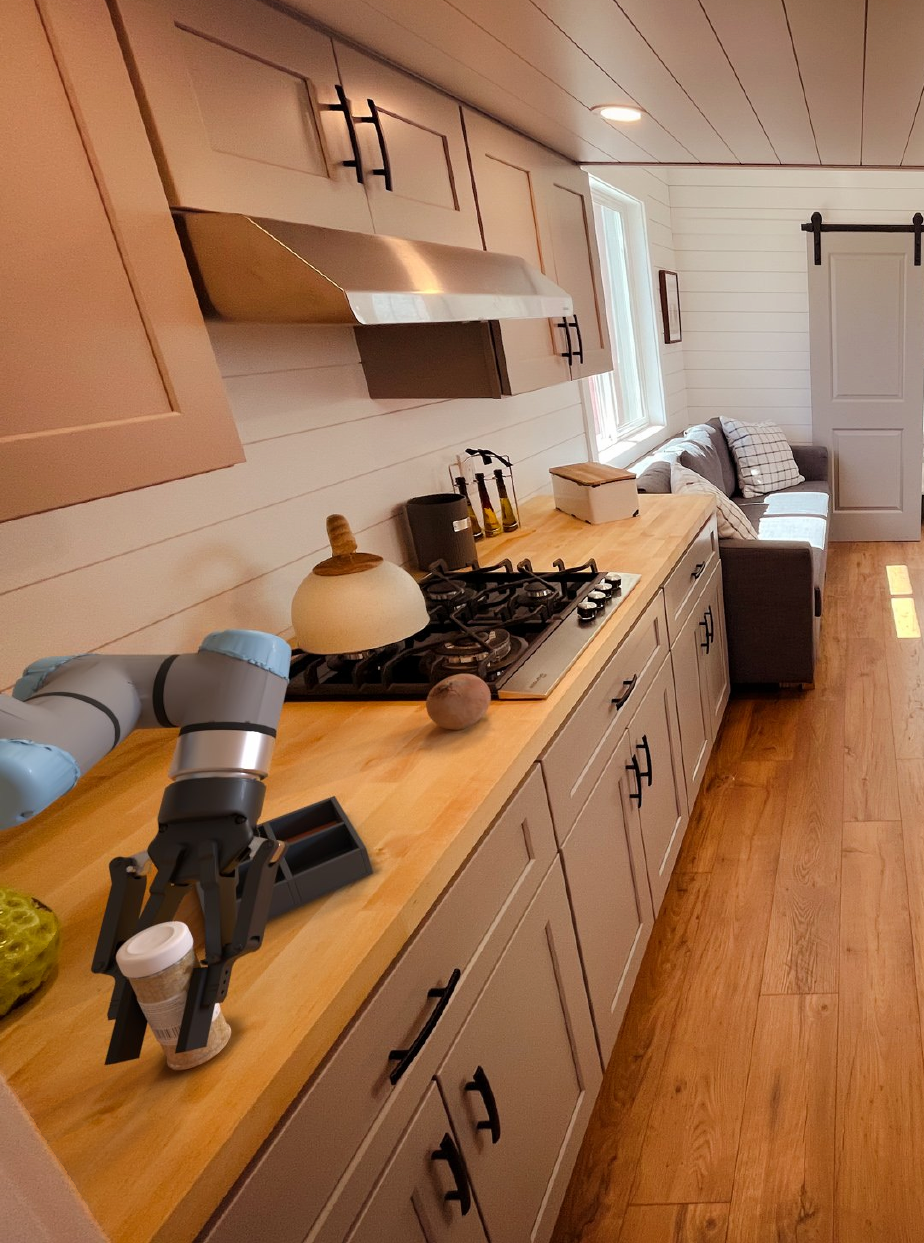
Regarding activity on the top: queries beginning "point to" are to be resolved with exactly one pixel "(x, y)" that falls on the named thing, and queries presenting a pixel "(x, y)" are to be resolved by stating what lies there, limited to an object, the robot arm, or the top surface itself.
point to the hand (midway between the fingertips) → (157, 1055)
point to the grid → (309, 856)
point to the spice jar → (168, 989)
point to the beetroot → (458, 701)
